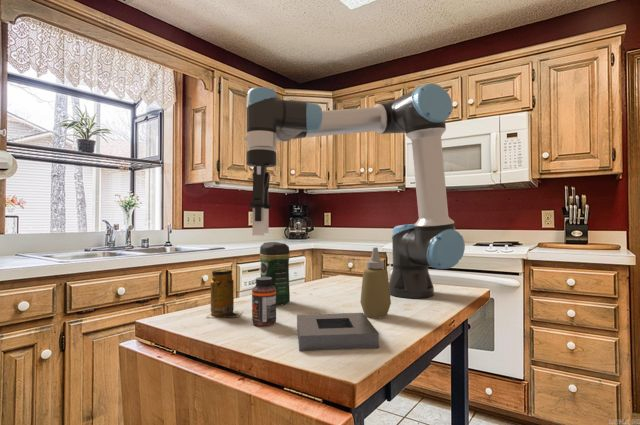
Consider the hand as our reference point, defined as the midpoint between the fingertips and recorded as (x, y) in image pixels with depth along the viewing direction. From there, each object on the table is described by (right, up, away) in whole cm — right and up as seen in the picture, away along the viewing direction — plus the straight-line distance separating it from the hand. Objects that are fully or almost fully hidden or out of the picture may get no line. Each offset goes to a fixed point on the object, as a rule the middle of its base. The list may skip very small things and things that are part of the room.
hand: (261, 234), depth 98 cm
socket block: (+18, -22, -13) cm, 31 cm away
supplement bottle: (+1, -22, -3) cm, 22 cm away
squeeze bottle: (+30, -22, +4) cm, 37 cm away
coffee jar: (+1, -22, +20) cm, 30 cm away
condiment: (-11, -22, +6) cm, 26 cm away
